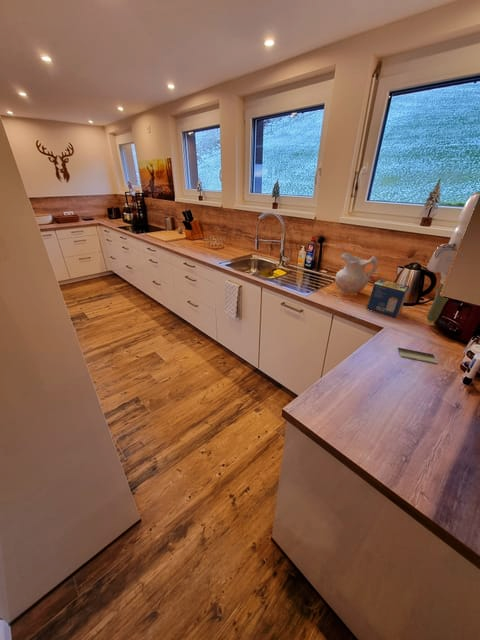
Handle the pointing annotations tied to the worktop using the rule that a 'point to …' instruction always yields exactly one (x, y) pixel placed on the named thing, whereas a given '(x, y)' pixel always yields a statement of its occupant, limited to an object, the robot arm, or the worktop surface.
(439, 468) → the worktop surface
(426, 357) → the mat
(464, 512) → the worktop surface
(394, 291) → the protein box
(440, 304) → the vegetable
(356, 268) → the ceramic pitcher
